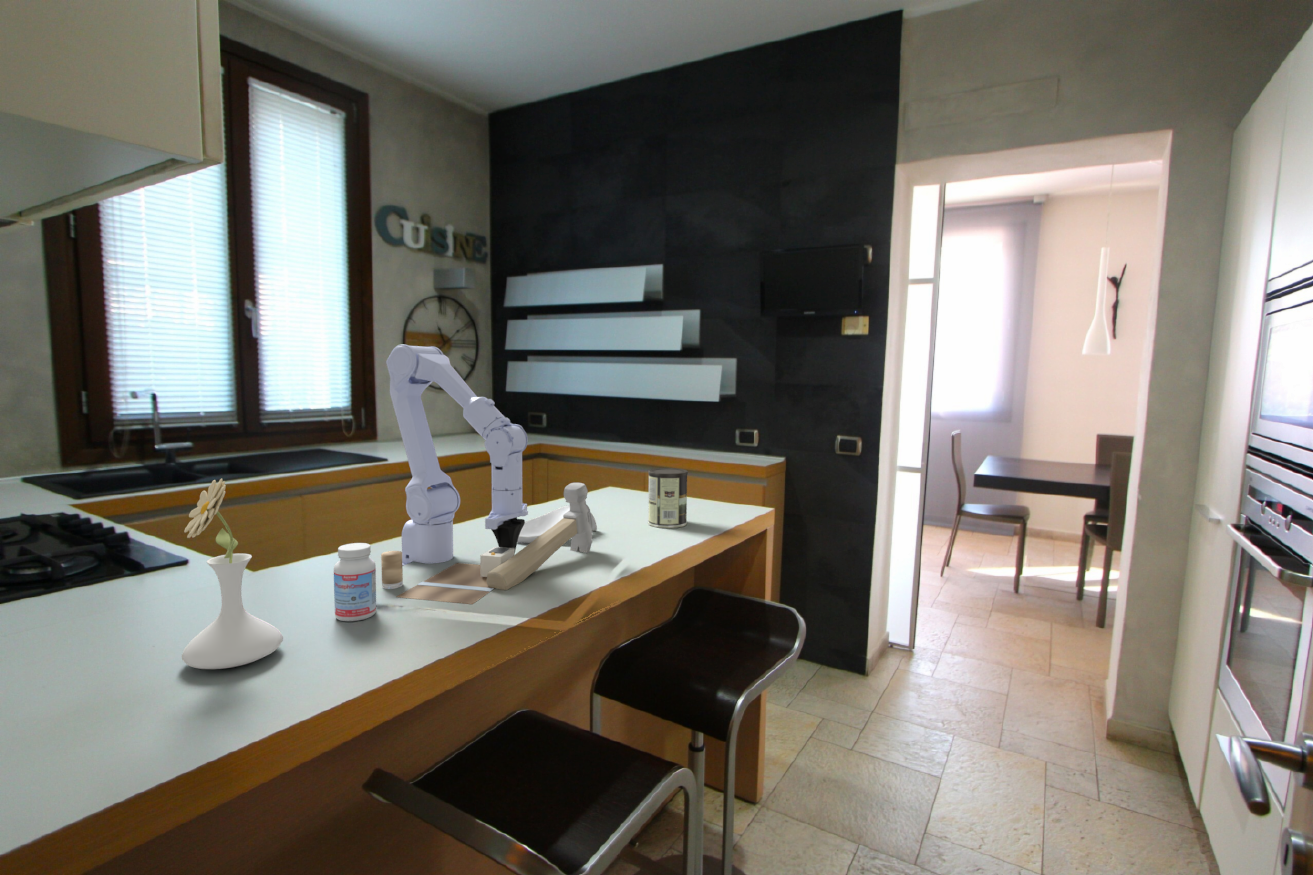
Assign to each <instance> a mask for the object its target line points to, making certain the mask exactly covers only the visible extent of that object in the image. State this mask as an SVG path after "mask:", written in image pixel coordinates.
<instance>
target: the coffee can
mask: <svg viewBox="0 0 1313 875" xmlns="http://www.w3.org/2000/svg"><path fill="white" fill-rule="evenodd" d="M688 472H689V471H688V470H687V469H682V468H677V467H676V468H675V467H674V468H671V467H663V468H662V467H660V468H652V469H648V473H647V474H648V520H647V521H648V522H647V524H648V525H649V526H651V527H655V528H659V529H676V528H683V527H686V526H687V524H688V523H687V515H688V514H687V513H688V512H687V510H688V509H687V507H688V498H687V496H688Z"/></svg>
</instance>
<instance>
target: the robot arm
mask: <svg viewBox="0 0 1313 875" xmlns="http://www.w3.org/2000/svg"><path fill="white" fill-rule="evenodd" d="M385 363H386V367H387V371H388V375H389V378H390V379H389V395H390V398H391V402H392V407H393V410H394V413H395V417H396V421H397V424H398V427H399V428H398V429H399V432H400V436H401V439H402V442H403V446H404V451H405V454H406V458H407V462H408V466H409V468H410V473H411V476H412V478H410V480H409V482H408V484H407V485H406V486H405V490H404V491H405V494H406V495H405V496H406V502H405V509H406V513H407V515H408V517H409V518H410V519H409V520H407V521H406V522H405V523H404V525H403V528H402V531H401V552H402V567H405V566H406V565H408V564H411V562H417V563H420V564H422V563H423V564H438V563H439V564H440V563H444V562H448V561H451V560H453V558H454V518H455V513H456V512H457V511H458V509H459V508H460V505H461V497H460V493H459V490H457V489H456V488H455V486H454V484H453V481H452V478H451V477H450V476H449V475H448V474H446V473H445V472H444V471H443V470H441V466H440V463H439V459H438V456H437V450H436V448H435V444H434V441H433V437H432V433H431V430H430V425H429V423H428V419H427V415H426V410H425V408H424V403H423V401H422V394H423V393H424V391H425V390H426V389H427V388H428V387H429V386H430V385H431V384H432V383H433V382H434V383H436V384H437V385H438V386H440V388H441V389H442V390H444V392H446V393H447V394H448V395H449V396H450V397H451V398H452V399H453V400H454V401H455V402H456V403H457V404H458V405H460V406H461V407H462V408H463V410H462V416H463V418H464V420H466V421H467V423H468V424H469V425H470V426H471V427H472V428H473V429H474V430H475V432H477V433H478V435H480V436H481V438H483V440H484V442H483V443H484V447H485V450H486V452H487V454H488V455H489V463H491V510H490V512H489V514H488V516H487V517H486V518H485V519H484V523H485V524H484V526H485V527H484V529H486V530H491V531H492V533H493V536H494V537H495V540H496V542H497V545H498V546H497V547H504V548H515V551H516V549H517V545H518V542H517V541H518V538H519V535H520V532H521V530H522V528H523V526H524V524H525V521H526V520H525V519H523V518H519V517H527V516H528V515H529V511H528V504H527V503H523V452H524V451H525V450H526V448H527V445H528V442H529V441H528V440H529V438H528V434H527V432H526V431H525V429H524V427H523V425H520V424H516V423H512V422H511V420H510V418H508V417H506V416H505V415H504V414H502V412H500V410H499V409H498V408H497V407H496V406H495V401H494V400H493V399H492V398H487V397H486V396H477V394H476V393H475V392H474V391H473V389H471V387H470V386H469V385H468V384H467V383H466V382H465V380H464V379H463V378H462V377H461V375H460V374H459V373H458V372H457V371H456V369H454V367H453V366H452V365H451V362H450V358H449V357H448V356H446V355H445V354H444V352H443V351H442V350H441V349H440V348H438V347H436V346H432V345H431V346H421V345H420V346H418V345H408V344H398V345H396V346H395V347H394V348H393V349H392V350H391V352H390V353H389V356H388V358H387V359H386V361H385Z"/></svg>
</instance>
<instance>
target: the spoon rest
mask: <svg viewBox="0 0 1313 875" xmlns="http://www.w3.org/2000/svg"><path fill="white" fill-rule="evenodd" d="M568 511H570V504H568V505H564V506H561V507H558V508H556V509H553V510H552V511H549V512H547V513H545V514H541V515H540V516H537V517H534V518H531V519H529V520H527V521H526V520H525V524H524V526H523V528H522V530H521V532H520V535H519V538H518V541H517V544H525V545H526V544H527V545H528V544H530V543H531V542H532V541H534V540H535V539H536V538H538V537H539V536H540V535H542V534H543V533H544V532H546V531H547V530H549V529H550V528H551V527H553V526H554V525H556V524H557V523H558V522H559V521H560V520H561V519H563V515H564V514H565V513H566V512H568ZM590 513H591V520H592V532H597V530H598V526H597V521H596V519H595V516H594V515H593V513H592V512H591V511H590Z"/></svg>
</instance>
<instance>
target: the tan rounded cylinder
mask: <svg viewBox="0 0 1313 875" xmlns="http://www.w3.org/2000/svg"><path fill="white" fill-rule="evenodd" d="M380 555H381V556H380V559H381V561H380V562H381V564H380V565H381V566H380V567H381V587H382V589H386V590H392V589H394V590H395V589H398V588H401V587H403V585H404V576H403V566H402V550H401V551H400V550H390V551H383V552H382V553H381V554H380Z"/></svg>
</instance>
